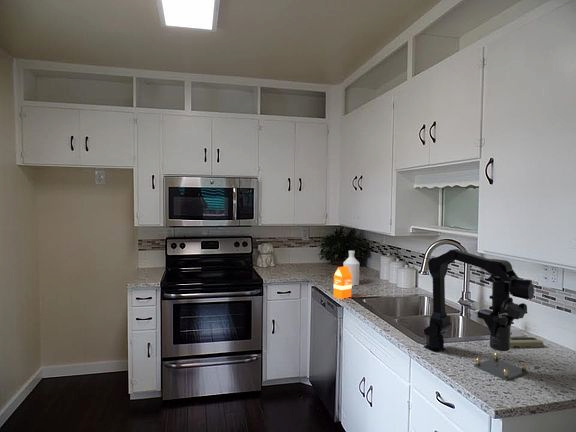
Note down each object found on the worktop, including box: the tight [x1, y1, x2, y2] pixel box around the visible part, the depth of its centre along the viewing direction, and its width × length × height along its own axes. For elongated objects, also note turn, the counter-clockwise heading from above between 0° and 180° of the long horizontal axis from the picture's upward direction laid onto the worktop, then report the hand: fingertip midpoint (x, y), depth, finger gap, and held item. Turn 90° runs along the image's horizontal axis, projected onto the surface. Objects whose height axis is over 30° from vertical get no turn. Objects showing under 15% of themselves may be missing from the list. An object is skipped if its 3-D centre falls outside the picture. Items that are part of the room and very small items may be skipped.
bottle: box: [342, 250, 361, 287], centre depth 286 cm, size 12×12×25 cm
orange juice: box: [333, 266, 353, 300], centre depth 249 cm, size 8×9×20 cm
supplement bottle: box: [489, 315, 511, 352], centre depth 145 cm, size 7×7×12 cm
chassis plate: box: [473, 352, 529, 382], centre depth 145 cm, size 13×13×3 cm
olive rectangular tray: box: [510, 336, 544, 349], centre depth 171 cm, size 16×8×3 cm, turn 94°
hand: (499, 335), depth 145 cm, fingers closed on supplement bottle, 7 cm apart
